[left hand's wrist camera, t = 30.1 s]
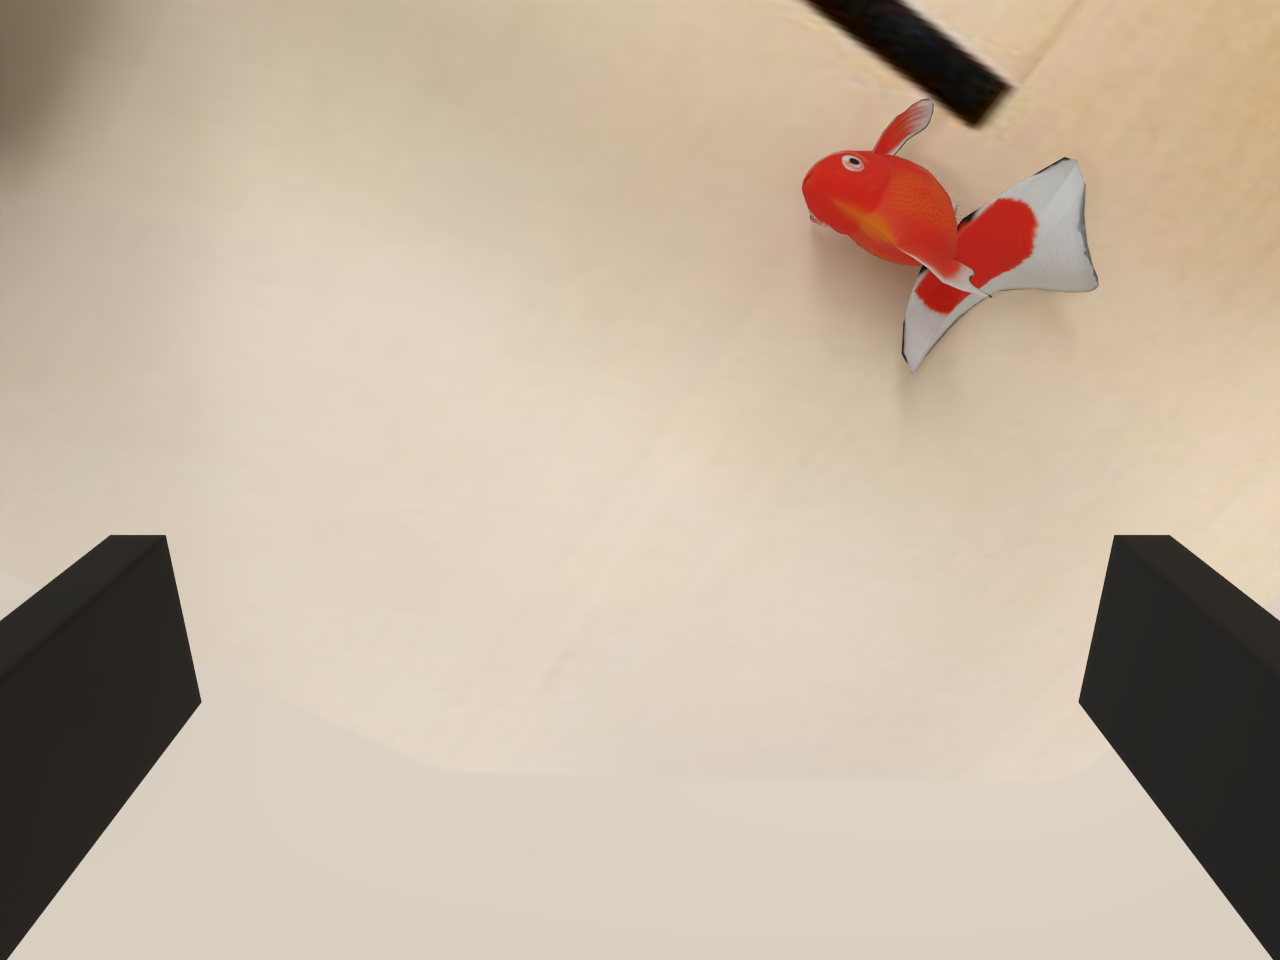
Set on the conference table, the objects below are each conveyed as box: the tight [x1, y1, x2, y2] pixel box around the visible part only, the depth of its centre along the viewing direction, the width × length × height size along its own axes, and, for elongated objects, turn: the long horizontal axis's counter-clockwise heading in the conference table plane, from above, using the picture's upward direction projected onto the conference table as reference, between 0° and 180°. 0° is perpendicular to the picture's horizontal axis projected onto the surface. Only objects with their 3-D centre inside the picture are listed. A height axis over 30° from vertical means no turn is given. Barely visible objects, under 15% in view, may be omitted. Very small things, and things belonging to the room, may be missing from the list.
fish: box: [802, 99, 1099, 375], centre depth 42 cm, size 11×16×10 cm
